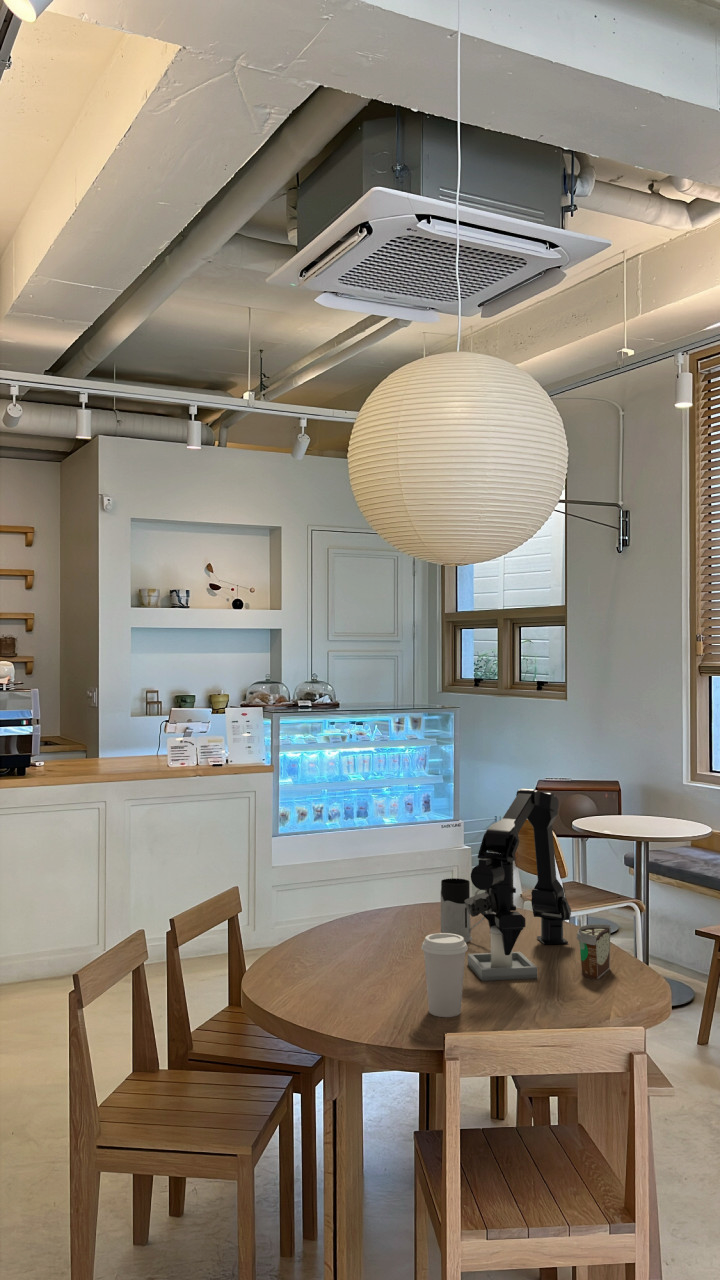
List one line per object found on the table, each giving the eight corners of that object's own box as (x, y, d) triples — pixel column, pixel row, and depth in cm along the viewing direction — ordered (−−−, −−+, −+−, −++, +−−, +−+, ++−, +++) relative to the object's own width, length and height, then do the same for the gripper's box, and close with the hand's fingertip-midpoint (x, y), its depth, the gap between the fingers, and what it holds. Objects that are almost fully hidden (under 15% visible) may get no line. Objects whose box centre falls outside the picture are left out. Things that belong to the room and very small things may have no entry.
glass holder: (446, 932, 262) (445, 876, 263) (496, 938, 256) (496, 881, 257) (434, 940, 254) (433, 882, 255) (485, 946, 248) (485, 887, 249)
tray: (467, 964, 233) (467, 953, 233) (520, 962, 235) (520, 951, 235) (481, 980, 220) (481, 969, 220) (537, 978, 222) (537, 967, 222)
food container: (586, 963, 234) (585, 921, 234) (611, 967, 230) (611, 924, 231) (569, 976, 223) (568, 932, 223) (595, 980, 220) (595, 936, 220)
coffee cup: (464, 1003, 204) (464, 931, 205) (471, 1019, 195) (471, 944, 195) (419, 1004, 204) (419, 932, 204) (423, 1020, 194) (423, 944, 195)
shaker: (488, 964, 229) (487, 925, 230) (508, 963, 230) (508, 924, 230) (494, 970, 224) (493, 931, 225) (515, 969, 225) (514, 930, 226)
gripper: (458, 875, 236) (458, 940, 236) (477, 892, 218) (478, 962, 217) (502, 874, 238) (503, 938, 237) (525, 890, 219) (526, 960, 219)
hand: (501, 949), depth 227 cm, fingers open, 9 cm apart
